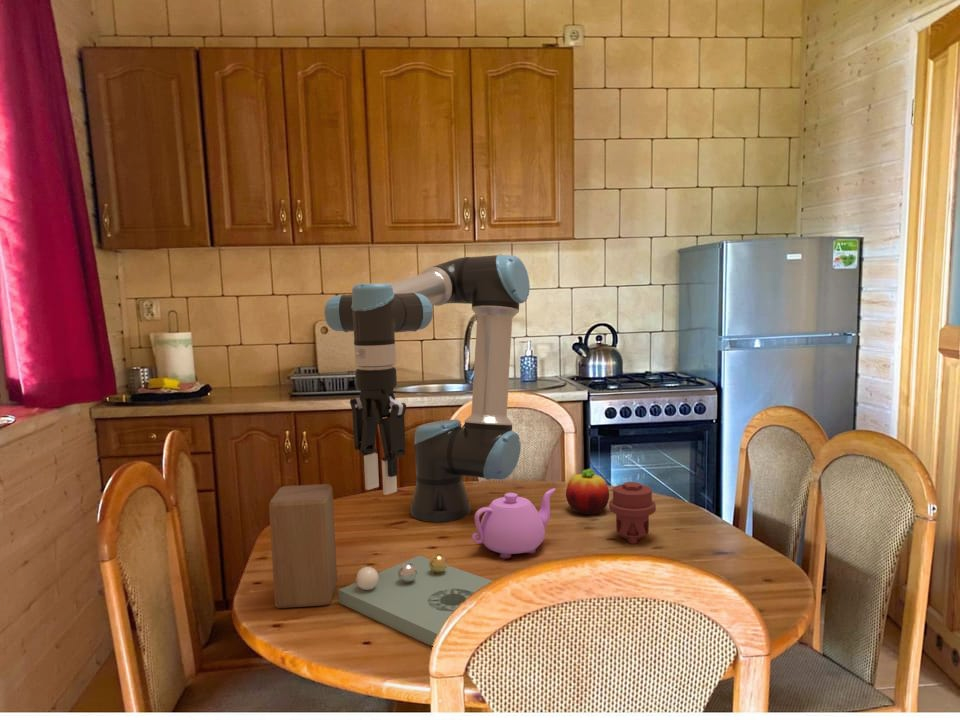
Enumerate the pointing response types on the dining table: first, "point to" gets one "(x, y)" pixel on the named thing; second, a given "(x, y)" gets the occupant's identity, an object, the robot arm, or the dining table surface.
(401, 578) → the steel ball
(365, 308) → the robot arm
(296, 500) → the wooden block
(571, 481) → the fruit
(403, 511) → the dining table surface
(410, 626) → the board
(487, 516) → the teapot
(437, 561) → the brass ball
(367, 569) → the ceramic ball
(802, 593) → the dining table surface
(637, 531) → the mechanical component
